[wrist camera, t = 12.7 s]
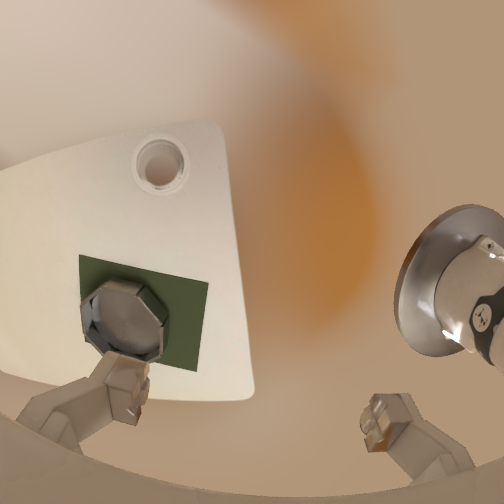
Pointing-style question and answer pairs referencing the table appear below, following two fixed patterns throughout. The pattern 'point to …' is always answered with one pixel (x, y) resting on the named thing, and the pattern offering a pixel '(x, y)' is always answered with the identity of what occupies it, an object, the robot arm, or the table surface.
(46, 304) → the table surface
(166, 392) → the table surface
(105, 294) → the octagonal skillet
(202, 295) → the mat
